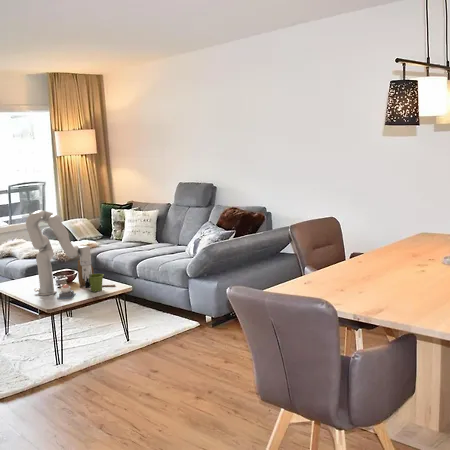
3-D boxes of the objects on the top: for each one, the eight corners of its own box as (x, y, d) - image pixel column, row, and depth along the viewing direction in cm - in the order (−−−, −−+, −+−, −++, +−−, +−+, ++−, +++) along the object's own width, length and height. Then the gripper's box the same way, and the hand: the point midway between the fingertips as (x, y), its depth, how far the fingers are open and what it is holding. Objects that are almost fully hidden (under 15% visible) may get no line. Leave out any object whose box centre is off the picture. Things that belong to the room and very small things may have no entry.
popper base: (57, 299, 377) (57, 294, 376) (61, 295, 387) (61, 290, 386) (72, 298, 377) (71, 293, 376) (75, 294, 387) (75, 289, 386)
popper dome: (60, 296, 378) (59, 285, 377) (63, 294, 385) (62, 283, 384) (69, 296, 378) (68, 285, 377) (72, 293, 385) (71, 282, 384)
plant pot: (108, 289, 397) (107, 274, 395) (96, 293, 387) (95, 278, 385) (96, 287, 403) (95, 272, 401) (84, 291, 393) (83, 276, 392)
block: (82, 286, 407) (80, 260, 404) (78, 285, 413) (75, 259, 410) (95, 284, 414) (93, 258, 411) (91, 282, 420) (88, 257, 417)
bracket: (94, 287, 403) (94, 286, 403) (95, 286, 406) (95, 285, 405) (114, 286, 403) (114, 285, 403) (115, 285, 406) (115, 284, 406)
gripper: (88, 264, 384) (90, 290, 387) (93, 260, 399) (95, 284, 402) (78, 265, 384) (80, 290, 387) (83, 260, 399) (85, 285, 402)
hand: (87, 287), depth 394 cm, fingers closed
